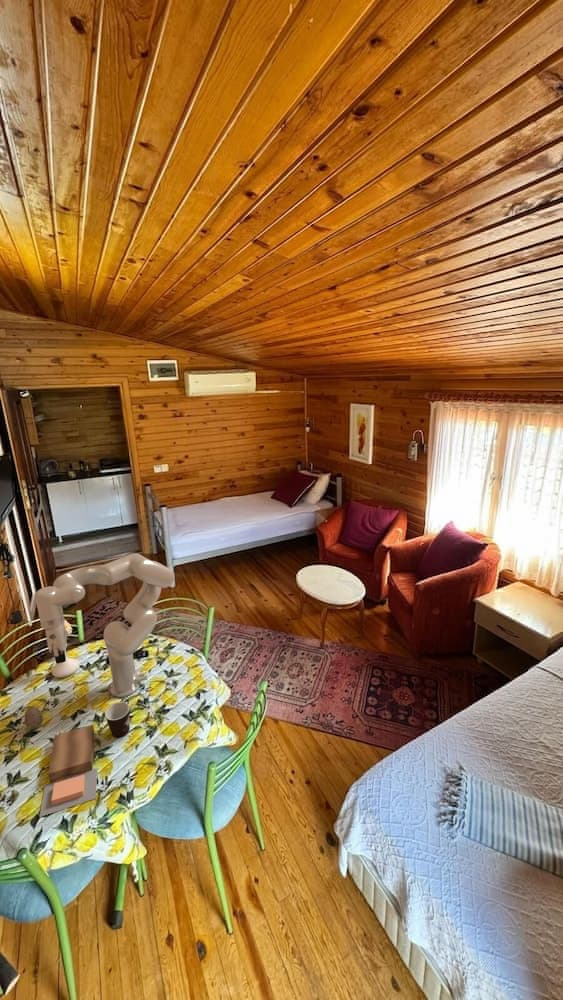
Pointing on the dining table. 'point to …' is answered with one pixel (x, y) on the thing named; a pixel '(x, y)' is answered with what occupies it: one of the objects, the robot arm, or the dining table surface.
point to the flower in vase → (69, 664)
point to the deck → (72, 753)
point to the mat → (88, 796)
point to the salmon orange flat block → (68, 789)
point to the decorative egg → (33, 718)
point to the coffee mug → (118, 718)
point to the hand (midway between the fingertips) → (61, 661)
